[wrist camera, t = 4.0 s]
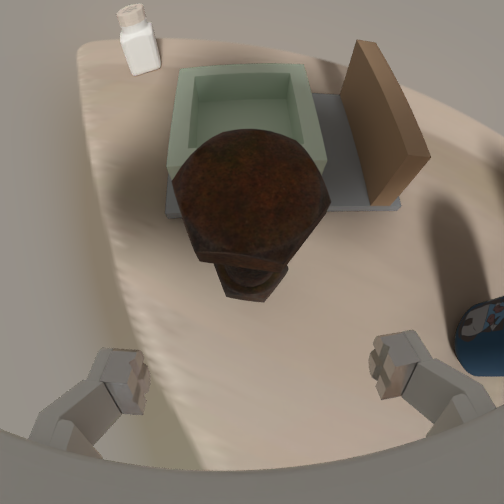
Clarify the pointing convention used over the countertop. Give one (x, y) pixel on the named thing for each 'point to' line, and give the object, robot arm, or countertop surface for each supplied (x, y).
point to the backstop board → (335, 165)
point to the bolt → (250, 207)
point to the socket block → (243, 107)
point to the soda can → (482, 339)
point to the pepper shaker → (138, 40)
